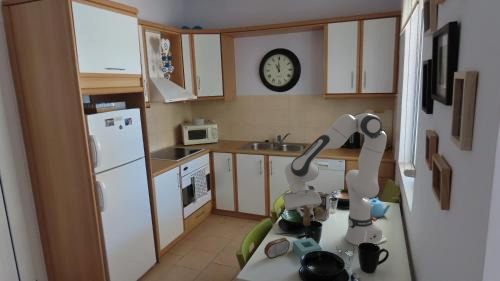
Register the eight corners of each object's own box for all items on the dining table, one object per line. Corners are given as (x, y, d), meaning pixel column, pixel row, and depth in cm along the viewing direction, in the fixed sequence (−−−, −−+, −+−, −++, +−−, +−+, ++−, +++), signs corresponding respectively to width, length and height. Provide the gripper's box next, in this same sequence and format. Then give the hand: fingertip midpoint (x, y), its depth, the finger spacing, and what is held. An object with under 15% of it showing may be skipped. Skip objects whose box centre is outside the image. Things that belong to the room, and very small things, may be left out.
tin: (287, 249, 170) (287, 235, 168) (290, 252, 167) (290, 237, 166) (263, 258, 162) (263, 243, 161) (267, 260, 160) (267, 245, 158)
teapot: (357, 210, 218) (357, 195, 216) (377, 208, 221) (377, 193, 219) (369, 219, 203) (370, 204, 201) (390, 217, 206) (391, 202, 204)
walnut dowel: (308, 222, 166) (308, 204, 164) (311, 225, 163) (311, 207, 161) (302, 223, 165) (302, 205, 163) (305, 226, 162) (305, 208, 160)
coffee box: (329, 217, 208) (330, 193, 205) (326, 220, 203) (326, 197, 200) (316, 214, 213) (316, 191, 210) (312, 217, 208) (313, 194, 205)
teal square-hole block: (311, 246, 173) (311, 237, 172) (321, 256, 162) (321, 247, 161) (293, 249, 170) (293, 241, 169) (302, 260, 159) (302, 251, 158)
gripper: (282, 190, 164) (290, 215, 157) (317, 186, 170) (326, 210, 163) (279, 196, 169) (286, 220, 162) (313, 191, 175) (322, 214, 168)
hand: (307, 215), depth 162 cm, fingers closed on walnut dowel, 3 cm apart
